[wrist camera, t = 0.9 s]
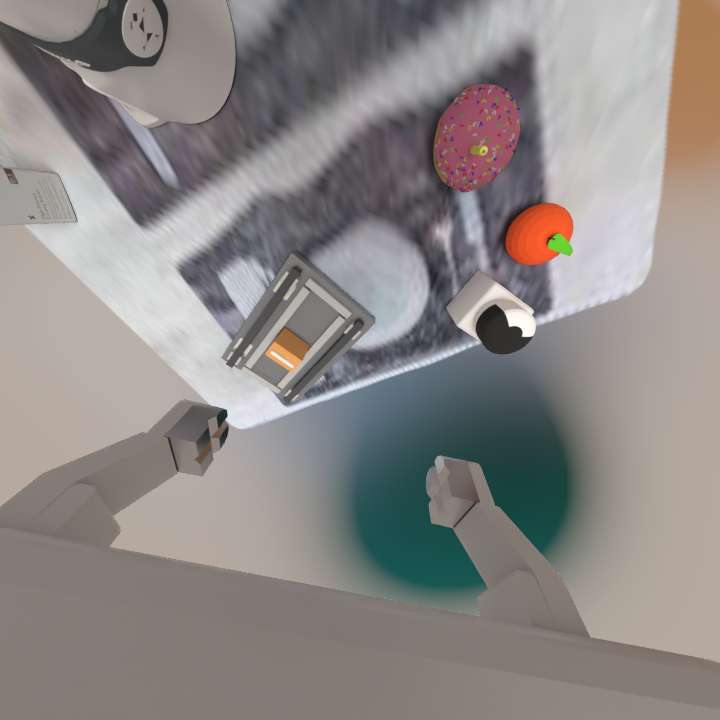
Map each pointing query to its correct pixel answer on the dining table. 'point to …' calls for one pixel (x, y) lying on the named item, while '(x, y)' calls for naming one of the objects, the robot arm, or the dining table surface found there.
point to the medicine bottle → (492, 315)
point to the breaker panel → (299, 327)
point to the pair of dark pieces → (266, 314)
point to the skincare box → (32, 198)
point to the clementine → (540, 234)
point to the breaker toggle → (288, 350)
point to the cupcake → (476, 137)
